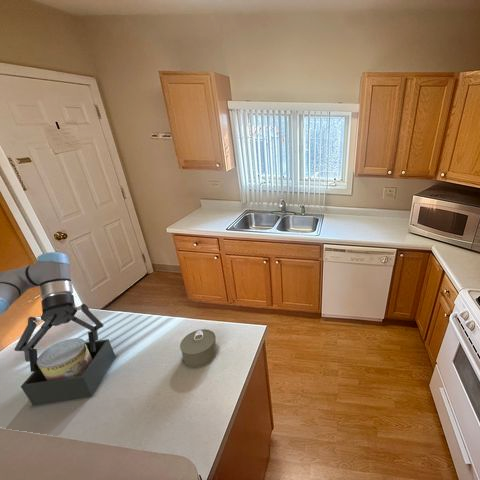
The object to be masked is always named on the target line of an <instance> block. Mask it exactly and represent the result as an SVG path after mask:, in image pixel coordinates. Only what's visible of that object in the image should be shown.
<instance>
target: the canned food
mask: <svg viewBox="0 0 480 480" xmlns="http://www.w3.org/2000/svg"><path fill="white" fill-rule="evenodd" d="M85 342H86V341H85V340H84V338H80V337H79V338H78V337H77V338H69V339H65V340H62V341H59V342H57V343H55V344H53V345H50V346H49V347H48V348H46V349H44V351H42V352H40V354H39V355H38V356H37V361H36V363H37V365H38V367H39V368H40V369H41V371H42V373H43V375H44V376H45V378H46V380H47V381H49V380H56V379H63V378H69V377H76V376H82V374H83V373H84V372H85V370H86V369H87V367H88V366H89V364H90V363H91V361H92V360H93V359H92V357H91V355H90V353H89V350H88V348H87V346H86V343H85Z"/></svg>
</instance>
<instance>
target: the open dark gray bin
mask: <svg viewBox="0 0 480 480" xmlns="http://www.w3.org/2000/svg"><path fill="white" fill-rule="evenodd" d="M85 343H86V346H87V348H88V350H89V353H90V355H91V357H92V359H93V360H92V361H91V363H90V364H89V366H88V367H87V369H86V370H85V372H84V373H83V374H82V376H76V377H69V378H63V379H56V380H49V381H47V380H46V378H45V376H44V375H43V373H42V371H41V369H40V368H39V366H38V368H39V370H38V371H35V372H31V374H30V375H29V376H28V378H27V379H25V381H24V382H23V383H22V384H21V385H20V388H21V389H22V391H23V393H24V394H25V395H26V397H27V399H28V400H29V402H30V403H31V405H32V406H41V405H46V404H53V403H59V402H65V401H70V400H77V399H83V398H90V397H93V396H94V394H95V392H96V391H97V389H98V388H99V386H100V384H101V383H102V381H103V379H104V377H105V376H106V374H107V373H108V371H109V369H110V367H111V365H112V364H113V363H114V361H115V359H116V357H117V356H116V354H115V351H114V349H113V347H112V344H111V341H110V339H109V338H108V339H100V340H99V339H98V340H97V341H95V347H96V352H91V351H90V344H89V341H85Z"/></svg>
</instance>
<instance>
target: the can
mask: <svg viewBox="0 0 480 480" xmlns="http://www.w3.org/2000/svg"><path fill="white" fill-rule="evenodd" d="M216 337H217V336H216V333H215V332H214V331H212V330H210V329H204V328H203V329H202V328H201V329H198V330H194V331H192V332H189V333H187V335H186V336H184V338H183V339H181V341H180V344H179V349H180V351H181V354H182V358H183V362H184V364H185V365H186V366H188V367H190V368H200V367H203V366H206V365H208V364H209V363H210V362H212V361H213V360H214V359H215V358H216V356H217V354H218V348H217V342H216V339H217V338H216Z"/></svg>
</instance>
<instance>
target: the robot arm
mask: <svg viewBox="0 0 480 480" xmlns="http://www.w3.org/2000/svg"><path fill="white" fill-rule="evenodd" d="M70 266H71V265H70V261H69V257H68V255H67V254H66V253H63V252H60V251H49V252H45V253H41V254H40V255H38V256H37V257H36V262H35V263H32V264H30V265H26V266H25V265H24V266H21V267H18V268H14V269H10V270H4V271H1V272H0V316H1V315H2V314H4V313H5V312H7V311H8V310H9V308H10V307H11V306H12V305H13V304H14V303H15V302H16V301H18V299H20V298H21V297H22V296H23V295H24V294H25V293H26V292H27V291H28V290H30V289H33V288H38V287H39V291H40V293H39V294H40V299H42V300H41V301H40V302H41V311H42V314H41V315H39V316H29V317H28V319H27V325H26V327H25V329H24V330H23V332H22V334H21V336H20V337H19V340H18V342H17V343H16V345H15V347H14V351H15V352H23V353H24V361H25V362H27V363H29V368H30V369H29V370H30V372H31V373H33V372H35V371H38V370H39V368H38V367H39V366H38V365H37V363H36V361H37V358H38V349H36V348H35V347H36V346H37V345H38V343H39V342H40V341H41V340H42V339H43V337H44V336H45V335H46V334H47V332H49V330H51V328H52V327H58V326H60V325H62V324H63V325H64V324H69V323H70V322H71V321H72V322H74V323H76V324H78V325H80V326H82V327H83V328H85V329H87V330H89V331H88V332H87V336H88V342H89V344H90V351H91V352H96V347H95V341H99V335H98V331H99V329H101V328H103V327H104V324H103V323H102V322H101V321H100V320H99V319H98V317H97V316H96V315H94V313H92V311H90V309H89V306H88V305H87V304H85V303H82V304H81V305H79V306H76V303H75V297H74V294H73V293H74V290H73V283H72V276H71V267H70ZM78 312H80V313H83V314H85V316H86V317H87V318H88V319H89V320H90V321H91V322H92V323H93V324H94V325H91V324H90V323H88V322H86V321H84V320H83V319H81V318H79V317H77V316H75V315H76V314H77V313H78ZM41 321H43V323H42V325H41V326H40V328H39V329H38V330H37V332H36V333H35V334H34V332H35V329H37V325H38V324H40V322H41ZM33 334H34V335H33ZM32 335H33V336H32ZM31 337H32V338H31Z"/></svg>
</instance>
